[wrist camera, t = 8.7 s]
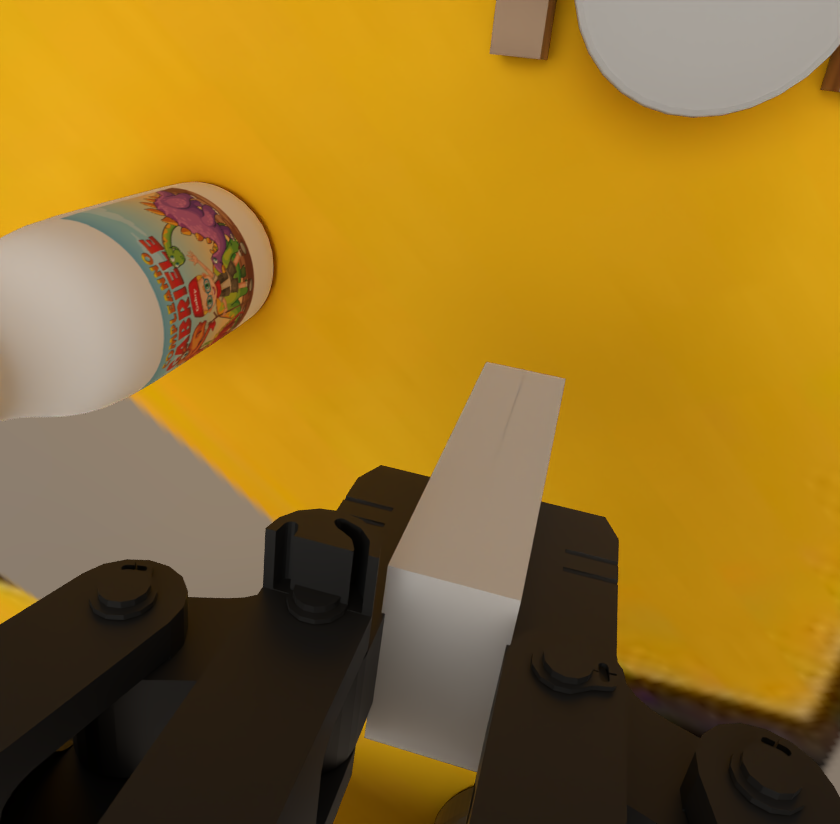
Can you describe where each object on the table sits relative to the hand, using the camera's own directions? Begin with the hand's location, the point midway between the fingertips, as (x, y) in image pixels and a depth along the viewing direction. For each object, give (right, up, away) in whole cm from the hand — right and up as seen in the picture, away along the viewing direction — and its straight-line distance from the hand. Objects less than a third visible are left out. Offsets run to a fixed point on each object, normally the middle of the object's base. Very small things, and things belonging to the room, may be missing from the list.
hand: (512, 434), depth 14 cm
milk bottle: (-13, +9, +26) cm, 30 cm away
